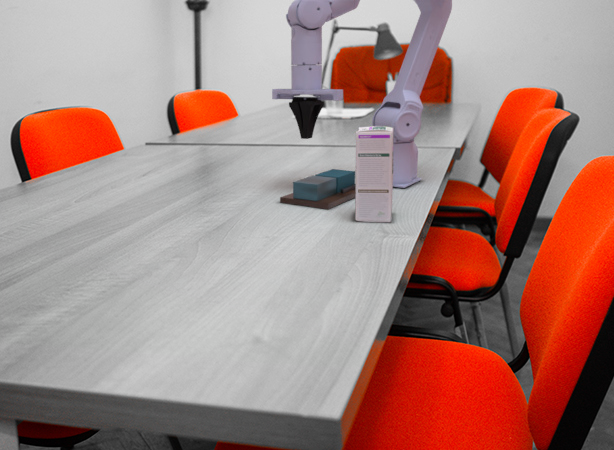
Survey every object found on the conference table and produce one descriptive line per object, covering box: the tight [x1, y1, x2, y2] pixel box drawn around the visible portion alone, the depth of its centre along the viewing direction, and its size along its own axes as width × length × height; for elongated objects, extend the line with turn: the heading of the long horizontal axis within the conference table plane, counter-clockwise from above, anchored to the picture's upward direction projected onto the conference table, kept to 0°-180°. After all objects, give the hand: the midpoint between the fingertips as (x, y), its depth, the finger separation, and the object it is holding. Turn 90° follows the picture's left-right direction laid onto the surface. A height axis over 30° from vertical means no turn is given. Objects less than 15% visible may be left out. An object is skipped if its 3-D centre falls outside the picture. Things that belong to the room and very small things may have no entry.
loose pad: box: [314, 168, 356, 193], centre depth 110 cm, size 7×5×3 cm
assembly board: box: [279, 175, 356, 210], centre depth 107 cm, size 16×10×4 cm, turn 145°
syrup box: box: [354, 125, 394, 223], centre depth 91 cm, size 6×6×14 cm
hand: (306, 138), depth 110 cm, fingers closed
